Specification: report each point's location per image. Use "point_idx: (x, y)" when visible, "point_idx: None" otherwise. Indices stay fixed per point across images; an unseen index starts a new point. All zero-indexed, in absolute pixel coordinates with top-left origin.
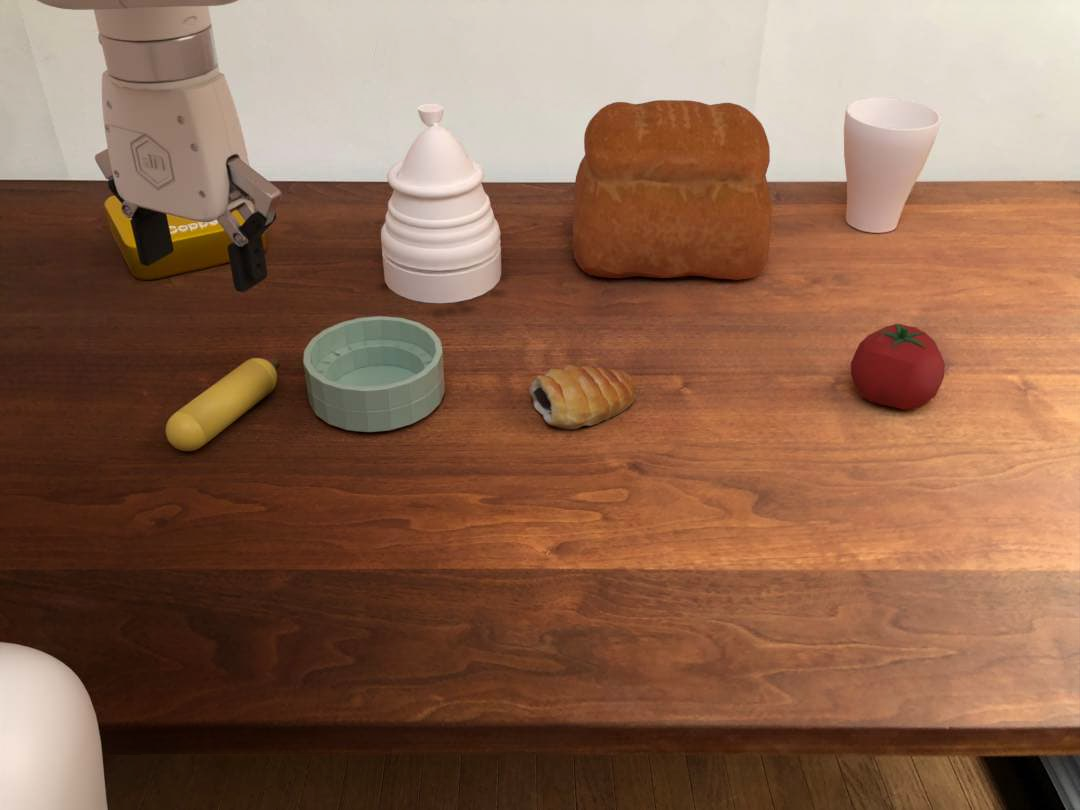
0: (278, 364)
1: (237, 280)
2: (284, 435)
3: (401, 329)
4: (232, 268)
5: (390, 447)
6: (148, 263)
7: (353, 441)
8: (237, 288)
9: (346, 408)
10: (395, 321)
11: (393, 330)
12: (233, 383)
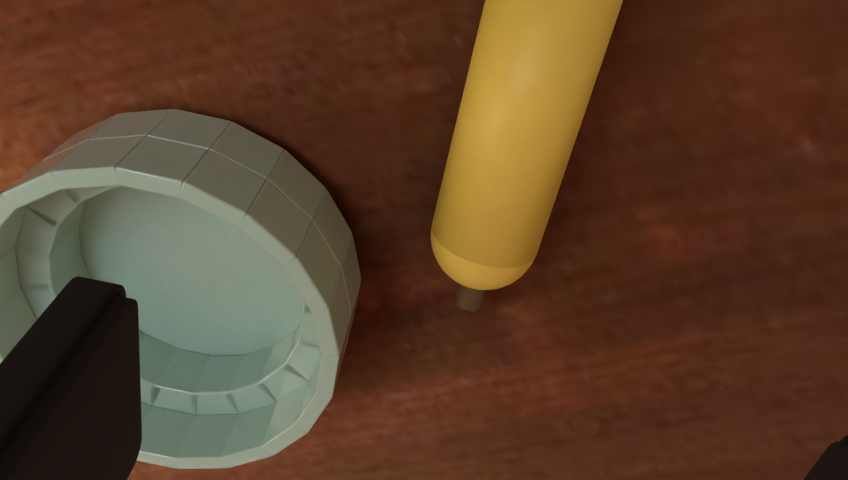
0: (455, 295)
1: (44, 325)
2: (335, 63)
3: (178, 438)
4: (26, 394)
5: (58, 84)
6: (842, 447)
7: (155, 84)
8: (92, 289)
9: (137, 137)
10: (185, 455)
11: (201, 434)
12: (493, 159)
